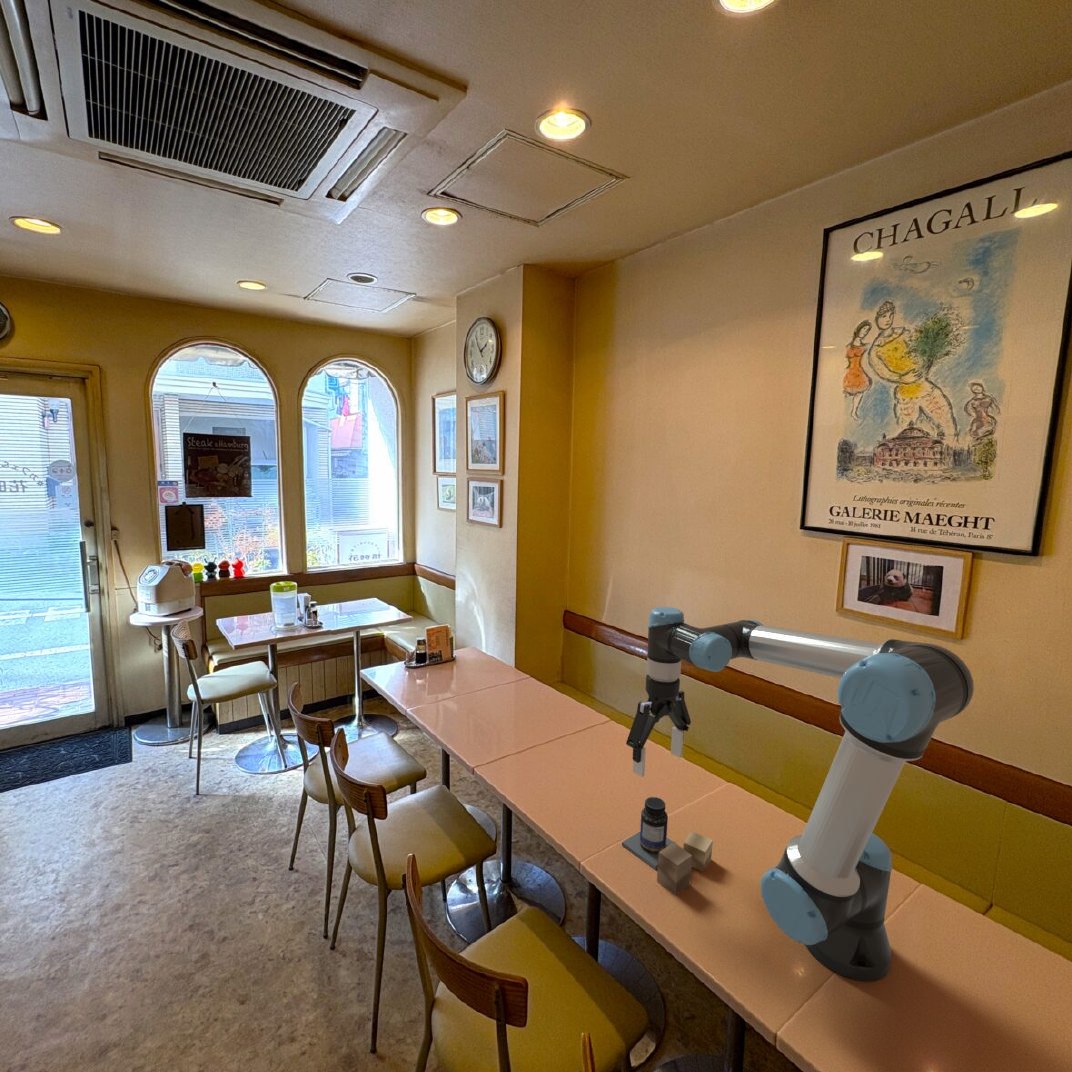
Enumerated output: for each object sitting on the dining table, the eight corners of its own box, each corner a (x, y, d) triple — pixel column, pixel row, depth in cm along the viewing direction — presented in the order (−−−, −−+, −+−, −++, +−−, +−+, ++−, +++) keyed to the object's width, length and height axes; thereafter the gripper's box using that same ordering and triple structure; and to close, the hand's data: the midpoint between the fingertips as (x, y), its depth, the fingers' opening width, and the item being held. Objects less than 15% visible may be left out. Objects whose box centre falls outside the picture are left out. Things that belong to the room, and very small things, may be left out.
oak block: (711, 859, 131) (712, 840, 130) (703, 872, 127) (705, 852, 126) (690, 850, 134) (691, 831, 133) (682, 862, 130) (683, 842, 129)
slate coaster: (682, 851, 133) (682, 848, 133) (655, 869, 127) (655, 866, 127) (649, 828, 141) (649, 825, 141) (621, 845, 135) (621, 842, 134)
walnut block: (689, 884, 123) (692, 855, 122) (675, 895, 120) (677, 865, 119) (671, 871, 127) (673, 842, 126) (656, 881, 123) (658, 852, 122)
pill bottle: (647, 833, 138) (650, 791, 136) (670, 845, 134) (673, 801, 132) (634, 846, 133) (637, 803, 132) (658, 858, 129) (661, 814, 128)
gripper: (682, 660, 139) (677, 742, 141) (612, 683, 123) (608, 774, 126) (709, 669, 133) (703, 754, 136) (639, 694, 117) (634, 790, 120)
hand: (658, 764), depth 131 cm, fingers open, 13 cm apart
